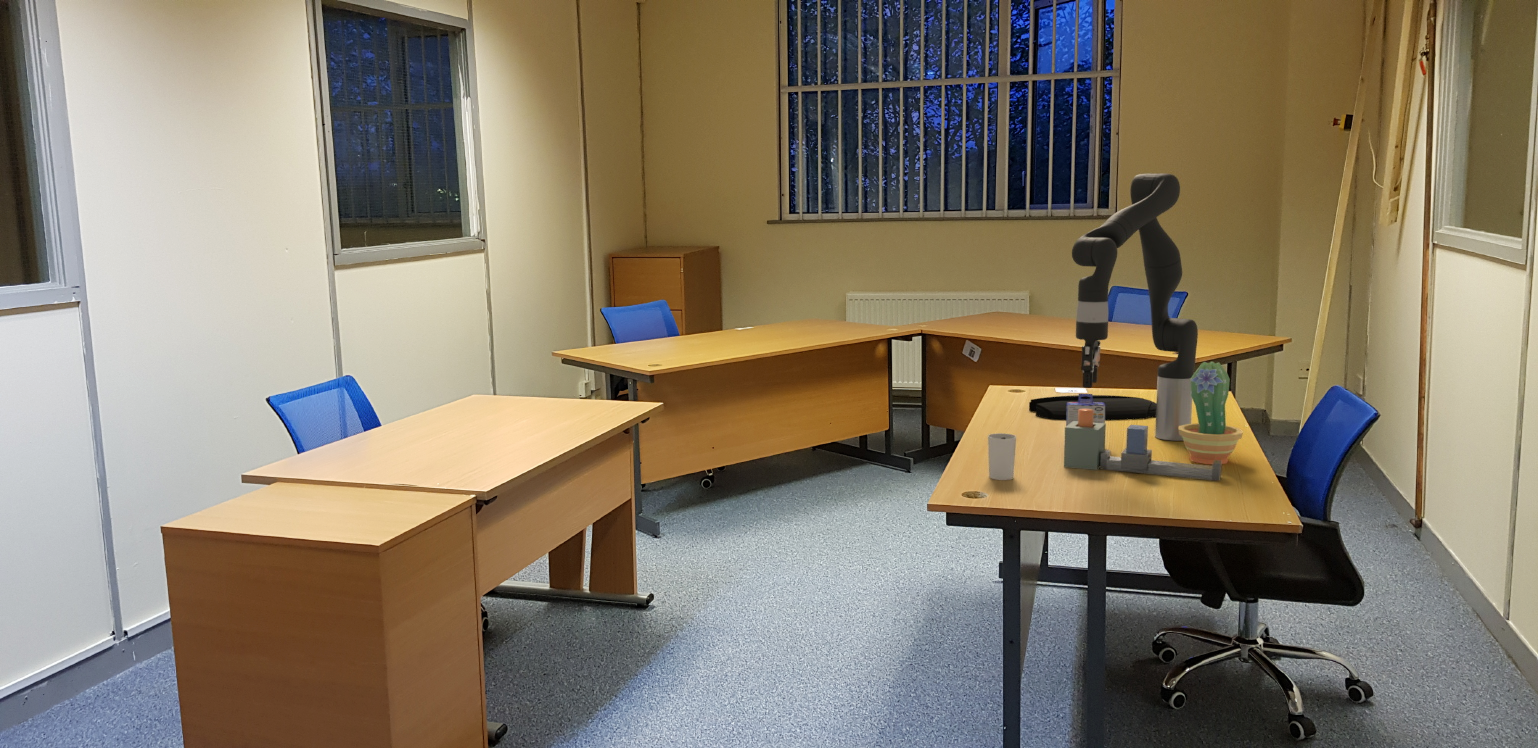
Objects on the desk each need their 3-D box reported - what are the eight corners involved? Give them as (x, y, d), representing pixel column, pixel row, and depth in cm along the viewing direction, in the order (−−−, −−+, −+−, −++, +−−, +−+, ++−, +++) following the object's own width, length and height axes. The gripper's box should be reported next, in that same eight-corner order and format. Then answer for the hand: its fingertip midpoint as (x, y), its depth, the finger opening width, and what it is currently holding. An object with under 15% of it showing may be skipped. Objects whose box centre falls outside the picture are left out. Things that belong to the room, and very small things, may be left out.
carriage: (1125, 463, 262) (1127, 423, 261) (1151, 465, 259) (1152, 425, 258) (1120, 469, 256) (1122, 428, 255) (1146, 471, 253) (1148, 430, 252)
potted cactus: (1162, 457, 271) (1166, 360, 268) (1208, 451, 277) (1212, 356, 274) (1209, 470, 257) (1214, 368, 254) (1256, 463, 263) (1261, 364, 260)
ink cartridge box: (1102, 446, 285) (1104, 393, 283) (1105, 451, 279) (1106, 396, 277) (1064, 445, 287) (1066, 392, 285) (1066, 449, 281) (1067, 396, 279)
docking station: (1176, 420, 319) (1177, 404, 319) (1041, 422, 320) (1042, 406, 319) (1148, 406, 344) (1148, 390, 343) (1023, 407, 345) (1023, 392, 344)
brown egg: (1079, 433, 266) (1080, 408, 265) (1094, 434, 264) (1094, 409, 263) (1076, 435, 263) (1076, 410, 262) (1091, 437, 261) (1091, 411, 260)
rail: (1103, 465, 263) (1104, 449, 263) (1220, 477, 251) (1221, 460, 250) (1100, 469, 260) (1100, 453, 259) (1218, 480, 247) (1219, 464, 247)
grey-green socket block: (1072, 459, 270) (1073, 420, 269) (1104, 462, 267) (1105, 423, 265) (1063, 466, 263) (1064, 427, 261) (1096, 470, 259) (1098, 430, 257)
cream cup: (984, 473, 257) (985, 433, 256) (1012, 473, 257) (1013, 433, 255) (989, 480, 250) (990, 439, 249) (1018, 480, 250) (1018, 439, 249)
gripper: (1104, 323, 251) (1101, 390, 253) (1111, 317, 264) (1109, 381, 266) (1071, 322, 254) (1069, 388, 256) (1080, 316, 267) (1078, 380, 269)
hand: (1089, 385), depth 261 cm, fingers open, 8 cm apart
